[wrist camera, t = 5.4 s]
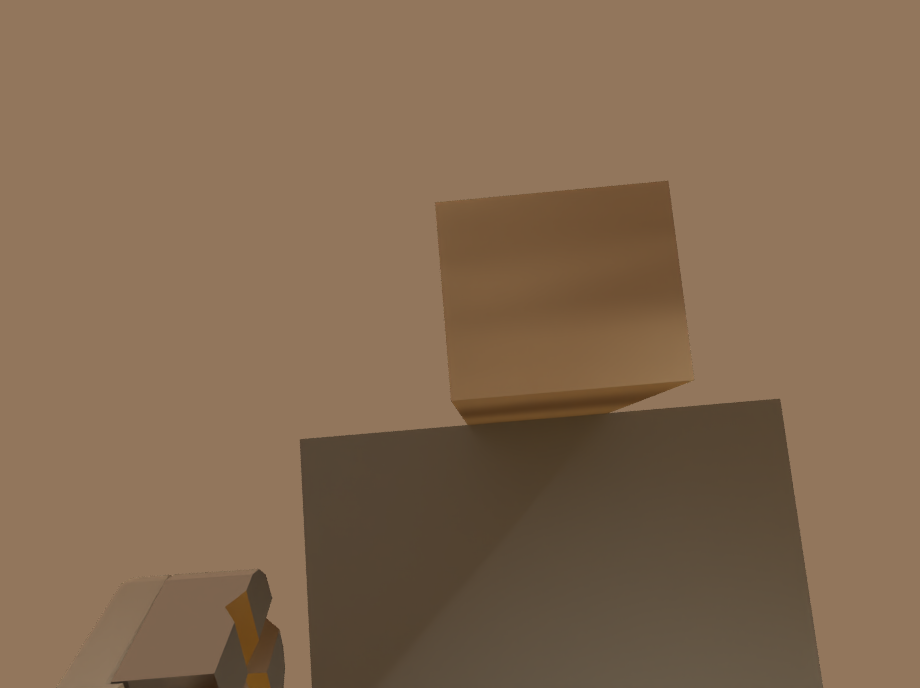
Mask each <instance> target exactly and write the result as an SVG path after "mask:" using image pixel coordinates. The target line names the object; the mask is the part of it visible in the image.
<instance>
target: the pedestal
mask: <svg viewBox="0 0 920 688" xmlns="http://www.w3.org/2000/svg"><path fill="white" fill-rule="evenodd" d="M300 449H301V450H300V451H301V472H302V493H303V513H304V532H305V533H304V534H305V554H306V574H307V595H308V614H309V615H308V616H309V635H310V657H311V676H312V688H823V685H822V677H821V671H820V664H819V657H818V651H817V645H816V637H815V630H814V624H813V617H812V610H811V603H810V597H809V590H808V583H807V577H806V570H805V563H804V556H803V550H802V543H801V536H800V530H799V523H798V516H797V509H796V504H795V496H794V490H793V482H792V476H791V469H790V462H789V456H788V449H787V442H786V435H785V429H784V422H783V415H782V409H781V402H780V399H772V400H759V401H747V402H736V403H724V404H713V405H701V406H688V407H676V408H665V409H653V410H641V411H630V412H618V413H606V414H594V415H582V416H570V417H558V418H547V419H535V420H523V421H511V422H499V423H488V424H476V425H465V426H452V427H440V428H429V429H417V430H405V431H393V432H381V433H369V434H359V435H346V436H334V437H322V438H310V439H301V440H300Z"/></svg>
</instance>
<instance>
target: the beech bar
mask: <svg viewBox="0 0 920 688" xmlns="http://www.w3.org/2000/svg"><path fill="white" fill-rule="evenodd" d="M435 206H436V219H437V231H438V244H439V256H440V269H441V281H442V293H443V306H444V318H445V331H446V343H447V356H448V368H449V380H450V392H451V401H452V403H453V404H454V406H455V407H456V409H457V410H458V411H459V413H460V414H461V416H462V417H463V419H464V420H465V422H466V423H467V425H476V424H488V423H499V422H511V421H523V420H535V419H547V418H558V417H570V416H582V415H594V414H606V413H610V412H612V411H615V410H618V409H620V408H623V407H626V406H628V405H631V404H633V403H636V402H639V401H641V400H644V399H646V398H649V397H651V396H654V395H657V394H659V393H662V392H665V391H667V390H670V389H672V388H675V387H678V386H680V385H683V384H685V383H688V382H690V381H693V380H694V373H693V365H692V358H691V350H690V343H689V335H688V327H687V320H686V312H685V304H684V297H683V289H682V281H681V274H680V266H679V259H678V251H677V244H676V236H675V229H674V221H673V213H672V205H671V198H670V190H669V183H668V181H661V182H651V183H639V184H628V185H618V186H607V187H596V188H585V189H575V190H565V191H553V192H542V193H532V194H521V195H510V196H499V197H489V198H479V199H467V200H457V201H446V202H436V203H435Z"/></svg>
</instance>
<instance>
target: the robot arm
mask: <svg viewBox="0 0 920 688" xmlns="http://www.w3.org/2000/svg"><path fill="white" fill-rule="evenodd" d="M271 600H272V596H271V593H270V589H269V585H268V581H267V578H266V575H265V574H264V573H263V572H262V571H261V570H259V569H252V570H237V571H221V572H205V573H189V574H175V575H173V576H171V575H163V576H151V577H138V578H131V579H129V580H127V581H125V582H124V583H122V584H121V585H120V586H119V588H118V589H117V591H116V592H115V594H114V596H113V597H112V599H111V600H110V602H109V604H108V605H107V607H106V608H105V610H104V612H103V613H102V615H101V617H100V618H99V620H98V621H97V623H96V625H95V626H94V628H93V629H92V631H91V632H90V634H89V636H88V637H87V639H86V640H85V642H84V643H83V645H82V647H81V648H80V650H79V651H78V653H77V655H76V656H75V658H74V660H73V661H72V663H71V664H70V666H69V667H68V669H67V671H66V672H65V674H64V675H63V677H62V679H61V680H60V682H59V683H58V685H57V687H56V688H283V685H284V673H285V663H284V651H283V644H282V639H281V635H280V630H279V629H278V628H277V627H276V626H275V625H273V624H272V623H271V622H270V621H269V620H268V619H266V616H267V613H268V610H269V607H270V603H271Z"/></svg>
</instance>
